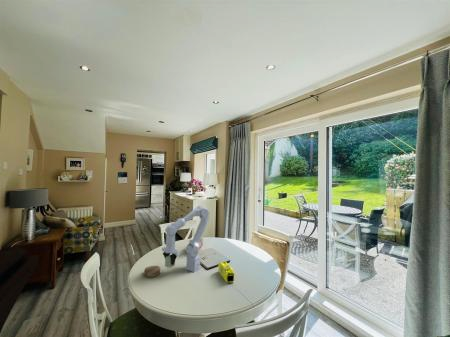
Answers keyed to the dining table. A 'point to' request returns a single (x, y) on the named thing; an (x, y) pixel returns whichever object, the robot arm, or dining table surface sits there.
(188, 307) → the dining table surface
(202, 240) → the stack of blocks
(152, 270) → the walnut plinth
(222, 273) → the yellow toy chassis
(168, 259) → the sage block
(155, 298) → the dining table surface
